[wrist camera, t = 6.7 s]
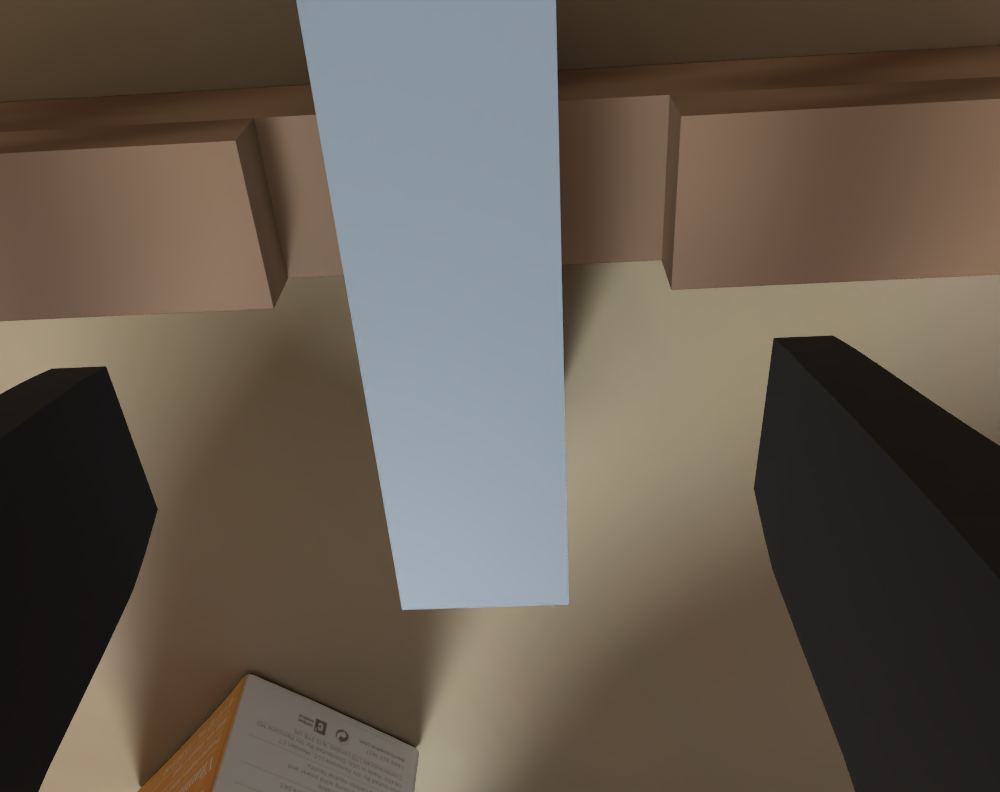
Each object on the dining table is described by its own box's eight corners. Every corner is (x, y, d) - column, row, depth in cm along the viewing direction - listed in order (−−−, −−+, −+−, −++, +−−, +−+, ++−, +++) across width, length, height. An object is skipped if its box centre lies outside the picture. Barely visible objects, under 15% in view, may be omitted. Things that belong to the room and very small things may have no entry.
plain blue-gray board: (538, -205, 14) (551, -208, 9) (555, 411, 21) (569, 604, 16) (351, -192, 14) (263, -187, 9) (428, 417, 21) (401, 610, 16)
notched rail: (1013, 44, 16) (1112, 93, 13) (973, 201, 18) (1054, 271, 15) (-56, 105, 17) (-163, 162, 14) (1, 249, 19) (-83, 324, 16)
